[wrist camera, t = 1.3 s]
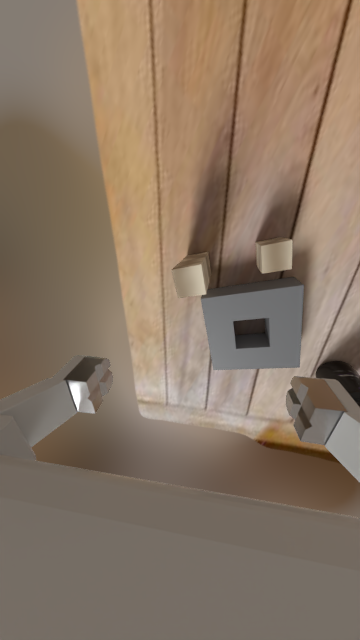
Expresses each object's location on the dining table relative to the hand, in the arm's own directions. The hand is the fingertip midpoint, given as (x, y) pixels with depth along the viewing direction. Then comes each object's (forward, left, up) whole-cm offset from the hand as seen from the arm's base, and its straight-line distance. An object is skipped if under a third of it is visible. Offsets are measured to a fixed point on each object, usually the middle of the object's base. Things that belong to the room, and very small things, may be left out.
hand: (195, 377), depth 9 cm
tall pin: (+3, 0, -30) cm, 30 cm away
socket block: (-5, +13, -30) cm, 33 cm away
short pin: (-9, 0, -30) cm, 31 cm away
